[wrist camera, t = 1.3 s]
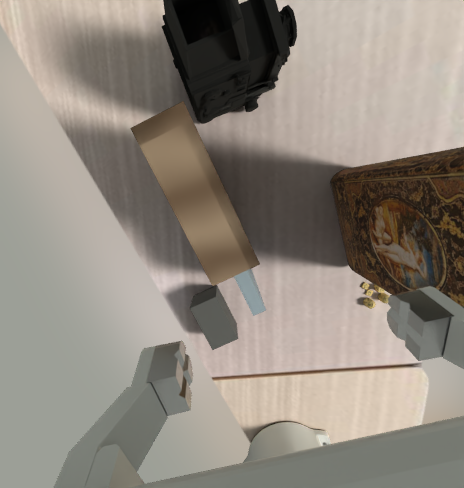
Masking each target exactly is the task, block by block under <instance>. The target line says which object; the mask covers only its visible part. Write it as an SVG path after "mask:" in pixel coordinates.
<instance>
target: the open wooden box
mask: <svg viewBox="0 0 464 488" xmlns="http://www.w3.org/2000/svg"><path fill="white" fill-rule="evenodd" d="M131 130H132V132H133V134H134V136H135V138H136V140H137V142H138V144H139V146H140V148H141V150H142V151H143V153H144V155H145V157H146V159H147V161H148V163H149V165H150V167H151V169H152V171H153V173H154V175H155V176H156V178H157V180H158V182H159V184H160V186H161V188H162V190H163V192H164V194H165V196H166V198H167V200H168V201H169V203H170V205H171V207H172V209H173V211H174V213H175V215H176V217H177V219H178V221H179V223H180V225H181V226H182V228H183V230H184V232H185V234H186V236H187V238H188V240H189V242H190V244H191V246H192V248H193V249H194V251H195V253H196V255H197V257H198V259H199V261H200V263H201V265H202V267H203V269H204V271H205V273H206V274H207V276H208V278H209V280H210V282H211V284H212V286H214V285H216V284H218V283H221V282H223V281H225V280H227V279H229V278H231V277H234V276H236V275H238V274H240V273H242V272H244V271H247V270H249V269H251V268H253V267H255V266H257V265H260V263H259V261H258V259H257V257H256V255H255V253H254V250H253V248H252V246H251V244H250V242H249V240H248V238H247V236H246V233H245V231H244V229H243V227H242V225H241V223H240V221H239V218H238V216H237V214H236V212H235V210H234V208H233V206H232V204H231V201H230V199H229V197H228V195H227V193H226V191H225V189H224V187H223V184H222V182H221V180H220V178H219V176H218V174H217V172H216V169H215V167H214V165H213V163H212V161H211V159H210V157H209V155H208V152H207V150H206V148H205V146H204V144H203V142H202V140H201V137H200V135H199V133H198V131H197V129H196V127H195V125H194V123H193V120H192V118H191V116H190V114H189V112H188V110H187V108H186V106H185V103H184V101H183V102H181V103H179V104H177V105H175V106H173V107H171V108H169V109H167V110H165V111H163V112H161V113H159V114H157V115H155V116H153V117H151V118H149V119H147V120H146V121H144V122H142V123H140V124H138V125H136V126H134V127H132V128H131Z"/></svg>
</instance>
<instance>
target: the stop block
mask: <svg viewBox="0 0 464 488" xmlns="http://www.w3.org/2000/svg"><path fill="white" fill-rule="evenodd" d="M190 310H191V312H192V313H193V315H194V317H195V319H196V321H197V323H198V324H199V326H200V328H201V330H202V332H203V333H204V335H205V337H206V339H207V341H208V342H209V344H210V346H211V348H212V350H214V349H216V348H218V347H221V346H223V345H225V344H227V343H230V342H232V341H234V340H237V339H238V333H237V323H236V321H235V319H234V317H233V316H232V314H231V312H230V310H229V308H228V306H227V304H226V302H225V300H224V298H223V296H222V294H221V292H220V290H219V288H218V286H217V285H216V286H214V287H212V288H210V289H208V290H206V291H203V292H201V293H199V294H197V295H195V296H193V300H192V303H191V306H190Z"/></svg>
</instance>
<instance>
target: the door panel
mask: <svg viewBox="0 0 464 488" xmlns="http://www.w3.org/2000/svg"><path fill="white" fill-rule="evenodd" d="M234 278H235V280H236V282H237V284H238V286H239V288H240V290H241V292H242V294H243V296H244V298H245V300H246V302H247V304H248V306H249V308H250V310H251V312H252V314H253V316H254V315H256V314H259V313H261V312H263V311H265V310H266V309H265V306H264V303H263V300H262V297H261V294H260V292H259V289H258V286H257V283H256V280H255V277H254V275H253V272H252V270H251V269H249V270H247V271H244V272H242V273H240V274H238V275H236V276H234Z"/></svg>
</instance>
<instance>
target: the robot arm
mask: <svg viewBox="0 0 464 488" xmlns="http://www.w3.org/2000/svg"><path fill="white" fill-rule="evenodd" d="M388 304H389V305H390V306H391V309H390V310H389V311H388V312H387V321H388V324H389V327H390V329H391V330H392V332H393V333H394V334H395V335H396V336H397V337H398V338H400V339H402V340H405V347H406V348H407V349H408V350H409V351H410V352H411V353H412V354H413V355H414V356H415V357H416V359H417V360H418V361H421V360H426V359H431V358H437V357H443V358H444V359H446V360H448V361H450V362H452V363H454V364H455V365H457V366H459V367H461V368H463V369H464V308H463V307H462V306H460V305H459V304H457V303H456V302H454V301H453V300H452V299H450V298H449V297H447V296H446V295H444V294H443V293H442V292H440V291H439V290H437V289H436V288H434V287H431V286H428V287H424V288H419V289H416V290H411V291H407V292H402V293H398V294H394V295H390V297H389V298H388ZM185 350H186V347H185V345H184V343H183V341H179V342H174V343H168V344H163V345H158V346H155V347H149V348H144V349H143V351H142V352H141V355H140V359H139V362H138V365H137V368H136V372H135V375H134V378H133V382H132V385H131V387H128V388H126V390H124V392H123V393H122V394H121V395H120V396H119V397H118V398H117V399H116V400H115V402H114V403H113V404H112V405H111V406H110V407H109V408H108V409H107V410H106V412H105V413H104V414H103V415H102V416H101V417H100V418H99V420H98V421H97V422H96V423H95V424H94V425H93V426H92V427H91V428H90V430H89V431H88V432H87V433H86V434H85V435H84V436H83V437H82V438H81V439H80V441H79V442H78V443H77V444H76V445H75V446H74V447H73V448H72V449H71V451H70V452H69V453H68V456H67V458H66V460H65V462H64V465H63V467H62V470H61V472H60V474H59V476H58V479H57V481H56V484H55V486H54V488H464V416H461V417H456V418H452V419H447V420H442V421H438V422H433V423H428V424H424V425H419V426H414V427H409V428H405V429H400V430H395V431H390V432H386V433H381V434H376V435H372V436H367V437H362V438H358V439H353V440H348V441H343V442H339V443H334V444H331V442H330V438H329V435H328V433H327V432H326V431H323V430H313V429H310V428H308V427H306V426H304V425H302V424H298V423H293V422H282V423H277V424H273V425H271V426H268V427H266V428H265V429H263V430H262V431H260V432H259V433H258V434H257V435H256V436H255V437H254V439H253V440H252V442H251V445H250V448H249V453H248V456H247V458H246V459H245V460H244V462H243V463H240V464H236V465H232V466H227V467H222V468H217V469H213V470H208V471H203V472H198V473H194V474H189V475H184V476H180V477H175V478H170V479H166V480H161V481H156V482H152V483H147V484H144V482H143V481H142V479H141V478H140V476H139V475H138V474H137V470H138V469H139V467H140V465H141V463H142V461H143V460H144V458H145V456H146V455H147V453H148V451H149V449H150V448H151V446H152V444H153V442H154V441H155V439H156V437H157V435H158V434H159V432H160V430H161V428H162V426H163V425H164V423H165V421H166V420H167V416H169V415H173V414H177V413H181V412H185V411H189V410H190V409H191V394H192V393H191V390H190V387H189V386H190V384H191V383H192V376H193V373H192V364H191V360H190V358H189V356H188V355H186V354H185Z"/></svg>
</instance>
